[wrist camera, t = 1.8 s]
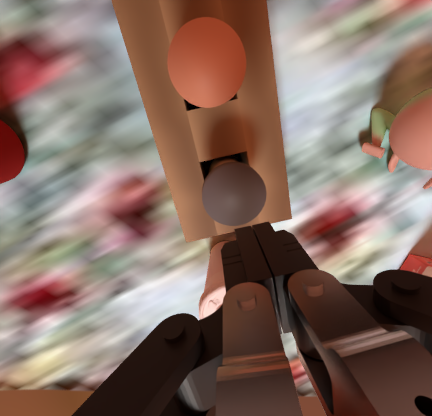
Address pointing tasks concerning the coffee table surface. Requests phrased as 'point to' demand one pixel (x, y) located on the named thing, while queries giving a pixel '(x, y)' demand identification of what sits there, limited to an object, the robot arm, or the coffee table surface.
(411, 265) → the ink cartridge box
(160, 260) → the coffee table surface
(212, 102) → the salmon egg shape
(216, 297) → the smoothie
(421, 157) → the frog
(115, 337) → the coffee table surface
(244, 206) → the plunger
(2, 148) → the beverage can
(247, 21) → the oak block
